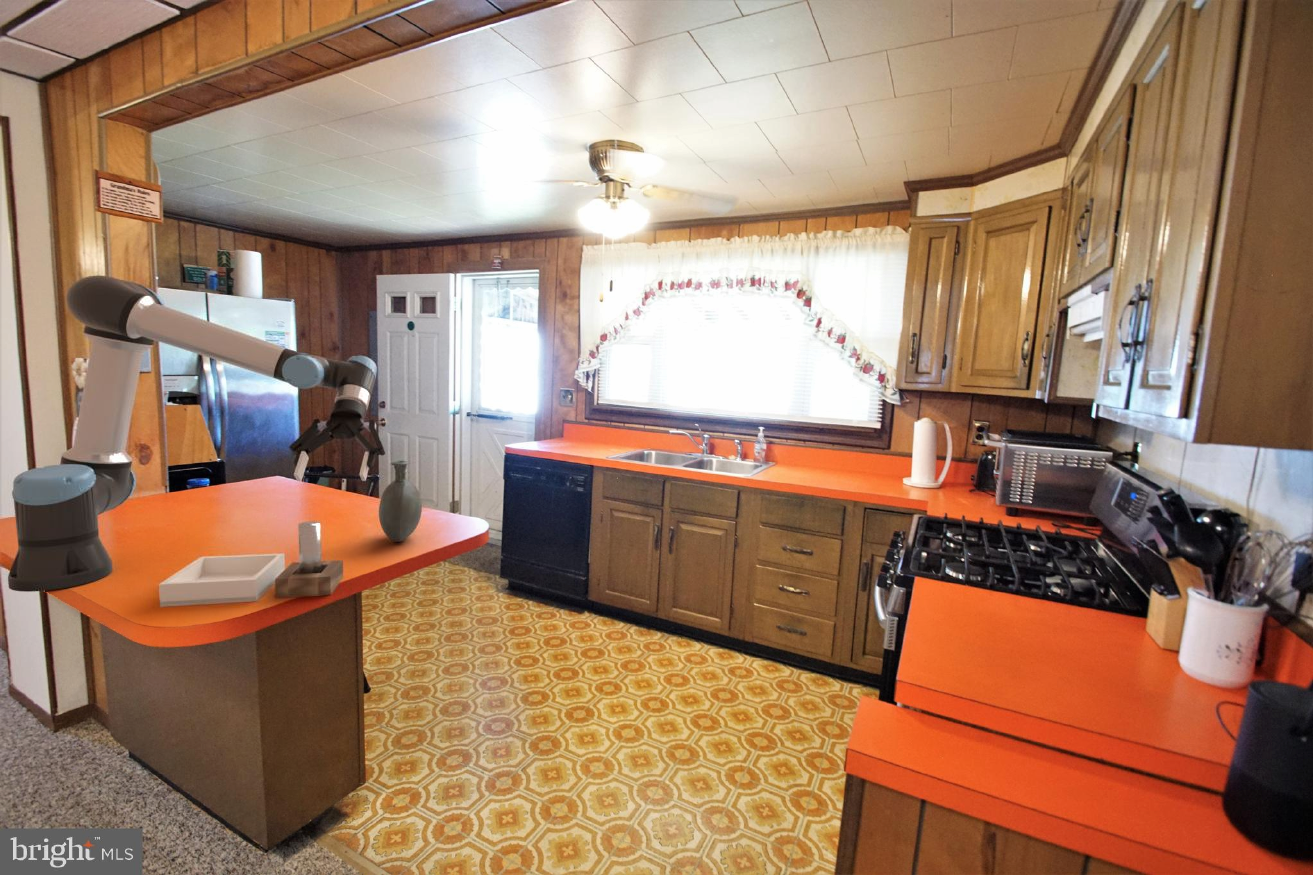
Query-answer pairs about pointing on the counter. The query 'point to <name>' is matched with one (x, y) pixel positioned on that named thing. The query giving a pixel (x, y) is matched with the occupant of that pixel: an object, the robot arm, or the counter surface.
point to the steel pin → (310, 547)
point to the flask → (400, 506)
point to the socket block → (309, 580)
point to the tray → (222, 580)
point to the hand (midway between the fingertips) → (330, 478)
